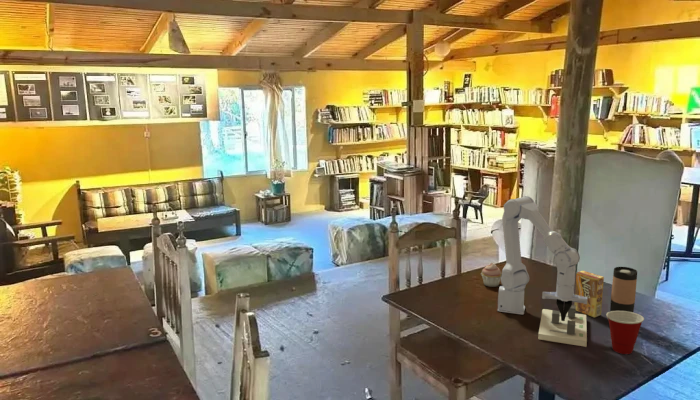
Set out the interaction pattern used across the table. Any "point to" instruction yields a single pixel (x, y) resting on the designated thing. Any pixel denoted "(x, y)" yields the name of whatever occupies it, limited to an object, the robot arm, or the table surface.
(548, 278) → the table surface
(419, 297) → the table surface
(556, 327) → the breaker panel
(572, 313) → the switch far
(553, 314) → the switch
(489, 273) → the cupcake
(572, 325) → the switch near
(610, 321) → the plastic cup
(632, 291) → the travel mug
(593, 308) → the candy box
